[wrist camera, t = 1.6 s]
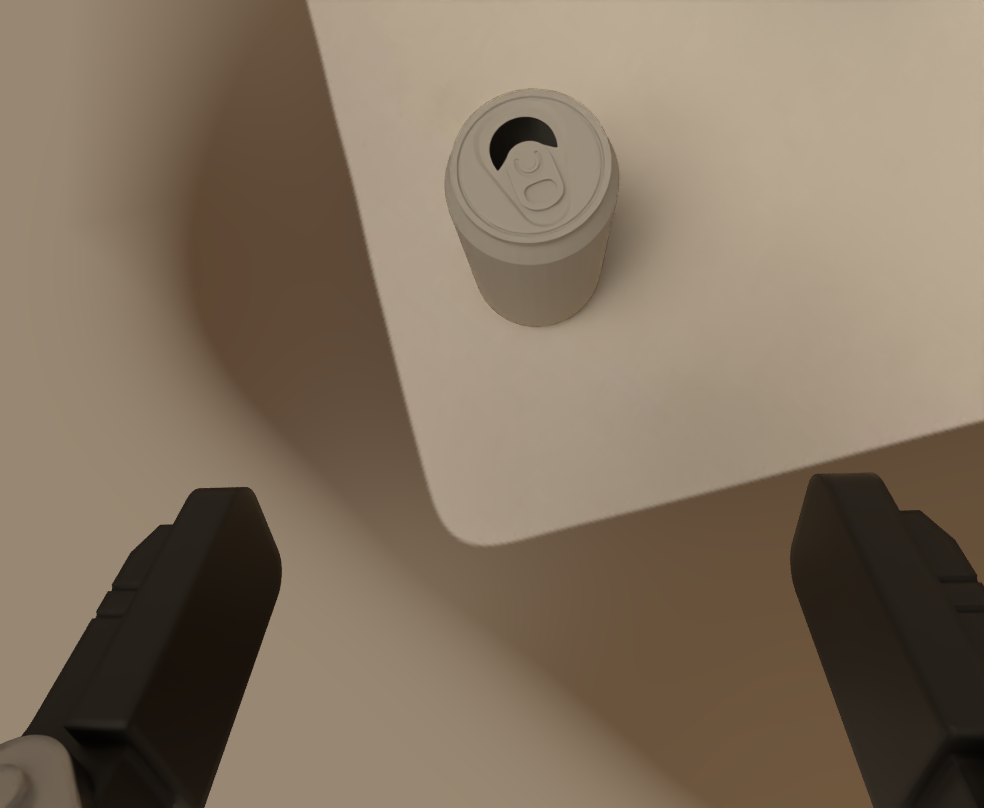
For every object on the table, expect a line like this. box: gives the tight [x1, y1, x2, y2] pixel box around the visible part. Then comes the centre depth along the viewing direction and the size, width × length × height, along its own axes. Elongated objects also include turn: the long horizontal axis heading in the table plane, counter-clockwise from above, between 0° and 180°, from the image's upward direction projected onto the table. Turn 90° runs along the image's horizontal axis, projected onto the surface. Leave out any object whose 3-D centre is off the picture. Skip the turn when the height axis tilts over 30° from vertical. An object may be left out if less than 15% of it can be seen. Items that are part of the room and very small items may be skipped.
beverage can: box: [445, 89, 619, 327], centre depth 30 cm, size 6×6×12 cm
